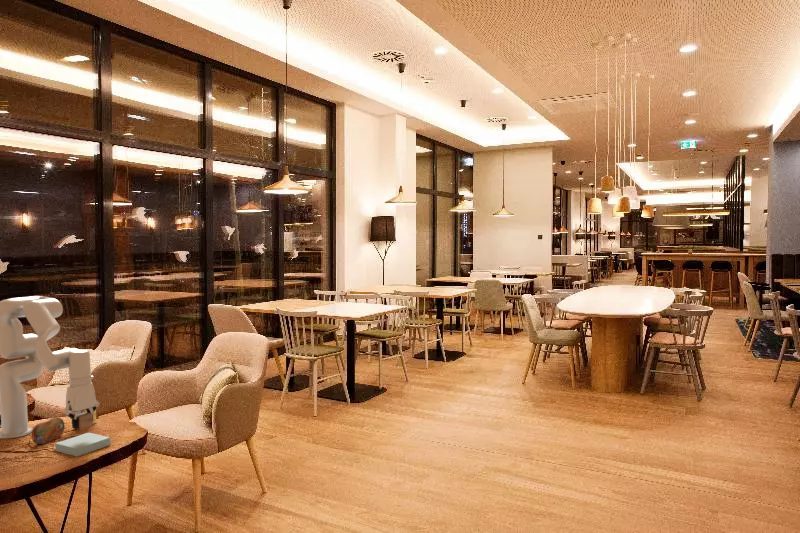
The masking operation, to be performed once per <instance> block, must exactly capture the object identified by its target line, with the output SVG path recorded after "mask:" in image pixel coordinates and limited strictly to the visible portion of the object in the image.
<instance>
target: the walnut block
mask: <svg viewBox="0 0 800 533" xmlns="http://www.w3.org/2000/svg"><path fill="white" fill-rule="evenodd" d="M77 419H78V420H79V429H78V430H81V431H82V430H85V429H89V428H91V427H93V425H94V424H92V414H90V413H85V412H84V413H80V414H78V416H77Z"/></svg>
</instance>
